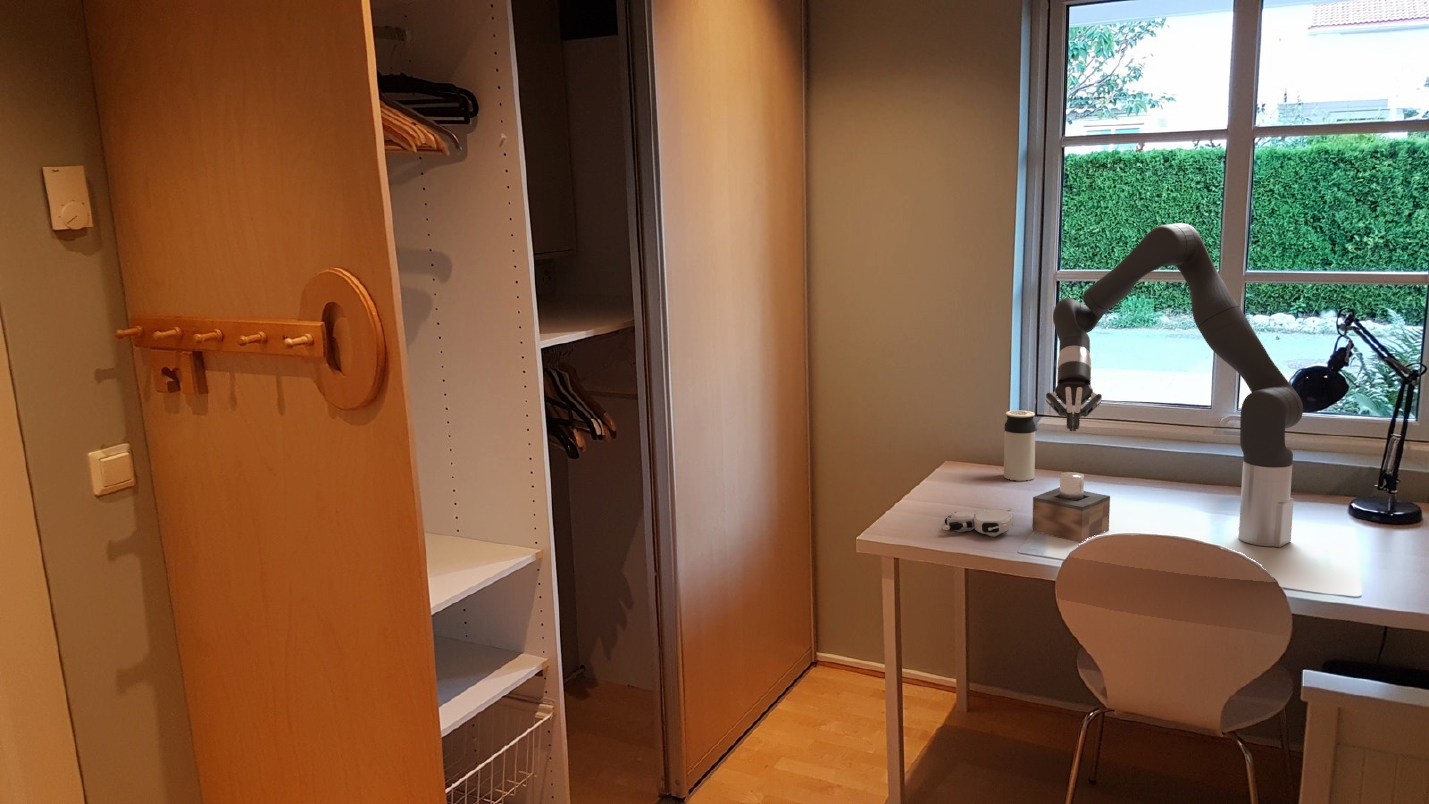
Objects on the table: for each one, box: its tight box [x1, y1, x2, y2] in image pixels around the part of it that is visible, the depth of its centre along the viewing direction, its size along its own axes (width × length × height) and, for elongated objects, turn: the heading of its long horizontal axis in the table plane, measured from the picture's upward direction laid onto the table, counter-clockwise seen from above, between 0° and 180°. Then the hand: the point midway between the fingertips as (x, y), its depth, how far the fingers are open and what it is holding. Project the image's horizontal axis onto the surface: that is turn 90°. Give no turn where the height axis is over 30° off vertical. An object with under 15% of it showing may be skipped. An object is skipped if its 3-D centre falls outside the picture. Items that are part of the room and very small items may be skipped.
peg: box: [1059, 471, 1085, 502], centre depth 228 cm, size 5×5×8 cm
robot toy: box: [941, 508, 1013, 537], centre depth 232 cm, size 12×4×15 cm
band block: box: [1031, 486, 1111, 543], centre depth 229 cm, size 12×12×8 cm
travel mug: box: [1003, 409, 1036, 482], centre depth 275 cm, size 8×8×18 cm
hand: (1073, 429), depth 235 cm, fingers closed
